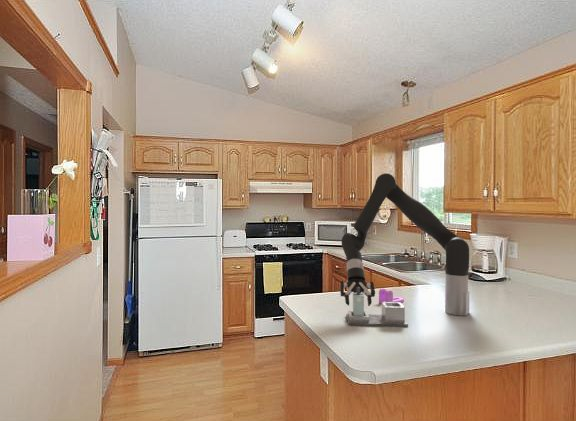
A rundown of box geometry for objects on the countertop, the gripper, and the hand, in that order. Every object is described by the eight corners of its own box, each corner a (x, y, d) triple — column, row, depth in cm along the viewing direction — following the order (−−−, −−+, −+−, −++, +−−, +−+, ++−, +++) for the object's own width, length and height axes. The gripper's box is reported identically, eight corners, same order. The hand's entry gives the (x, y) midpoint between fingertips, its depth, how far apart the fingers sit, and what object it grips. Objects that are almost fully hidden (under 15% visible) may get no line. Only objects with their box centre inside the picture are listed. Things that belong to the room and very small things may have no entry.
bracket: (387, 305, 173) (387, 291, 173) (378, 302, 177) (378, 288, 177) (406, 301, 179) (406, 287, 179) (397, 299, 184) (397, 285, 184)
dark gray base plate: (400, 317, 154) (400, 300, 154) (407, 326, 142) (407, 309, 142) (346, 316, 156) (346, 300, 156) (348, 325, 144) (348, 308, 144)
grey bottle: (362, 317, 151) (362, 286, 151) (364, 320, 147) (364, 288, 146) (352, 317, 152) (352, 286, 151) (354, 320, 147) (354, 288, 147)
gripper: (339, 266, 157) (341, 299, 146) (372, 266, 156) (377, 300, 145) (338, 276, 162) (340, 309, 151) (370, 276, 161) (375, 309, 150)
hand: (358, 304), depth 148 cm, fingers open, 8 cm apart
